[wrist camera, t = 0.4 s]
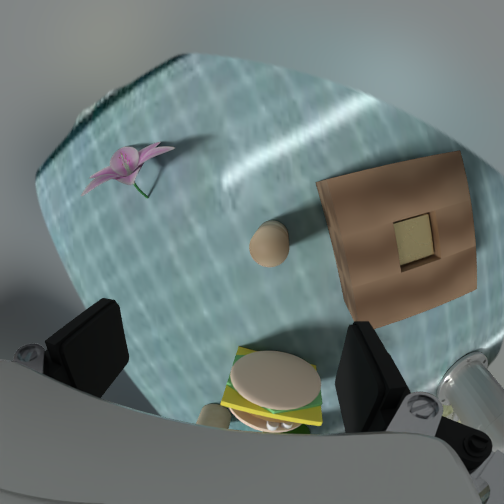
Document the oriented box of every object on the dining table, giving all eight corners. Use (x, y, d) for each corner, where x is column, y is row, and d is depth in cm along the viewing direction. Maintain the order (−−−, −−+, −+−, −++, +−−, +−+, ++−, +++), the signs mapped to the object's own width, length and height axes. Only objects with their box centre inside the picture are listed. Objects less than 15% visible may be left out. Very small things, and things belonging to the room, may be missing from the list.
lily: (203, 161, 34) (168, 114, 25) (159, 240, 32) (108, 210, 23) (145, 149, 38) (109, 112, 29) (107, 214, 36) (62, 186, 27)
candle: (209, 398, 41) (194, 440, 32) (237, 412, 42) (226, 455, 32) (197, 413, 43) (181, 452, 33) (222, 426, 43) (211, 465, 33)
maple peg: (292, 247, 34) (293, 261, 27) (261, 255, 35) (256, 271, 28) (283, 216, 33) (283, 223, 26) (252, 225, 34) (244, 234, 27)
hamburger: (230, 375, 40) (212, 429, 28) (242, 333, 38) (225, 387, 26) (302, 392, 39) (303, 449, 27) (321, 353, 37) (330, 410, 25)
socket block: (442, 268, 32) (476, 289, 23) (344, 300, 35) (359, 333, 26) (423, 157, 29) (460, 150, 20) (315, 182, 32) (326, 179, 23)
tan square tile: (429, 252, 25) (433, 254, 24) (396, 262, 26) (400, 265, 25) (423, 213, 24) (428, 213, 23) (389, 222, 25) (393, 223, 24)
